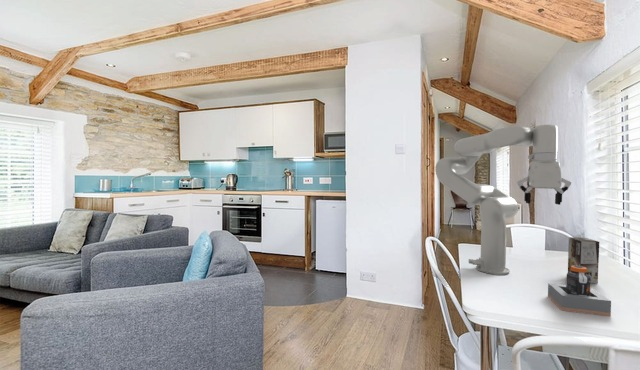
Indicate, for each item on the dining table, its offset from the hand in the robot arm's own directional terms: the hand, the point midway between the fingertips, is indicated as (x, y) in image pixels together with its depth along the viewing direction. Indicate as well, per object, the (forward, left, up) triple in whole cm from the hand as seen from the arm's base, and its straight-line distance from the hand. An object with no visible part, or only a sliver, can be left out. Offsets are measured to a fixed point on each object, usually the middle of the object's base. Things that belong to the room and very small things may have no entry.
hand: (542, 203), depth 122 cm
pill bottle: (+4, -21, -30) cm, 36 cm away
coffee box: (+18, +12, -31) cm, 37 cm away
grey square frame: (+4, -21, -30) cm, 37 cm away
